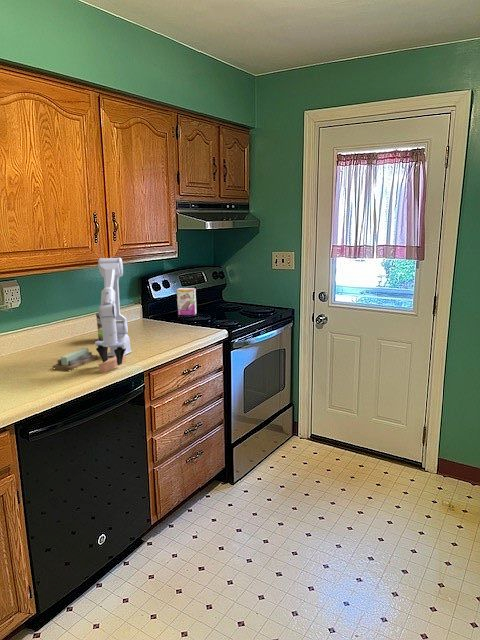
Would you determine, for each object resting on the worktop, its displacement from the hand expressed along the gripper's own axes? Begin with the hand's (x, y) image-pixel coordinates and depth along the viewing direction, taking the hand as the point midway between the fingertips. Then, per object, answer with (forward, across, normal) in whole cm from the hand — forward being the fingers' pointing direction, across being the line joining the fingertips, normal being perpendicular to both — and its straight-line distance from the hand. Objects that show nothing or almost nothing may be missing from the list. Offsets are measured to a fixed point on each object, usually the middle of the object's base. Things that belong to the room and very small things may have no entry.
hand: (112, 363), depth 204 cm
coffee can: (+2, -28, +36) cm, 46 cm away
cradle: (+1, -18, -1) cm, 19 cm away
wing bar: (+2, 0, 0) cm, 2 cm away
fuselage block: (0, -18, -1) cm, 19 cm away
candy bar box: (+2, -18, +101) cm, 103 cm away
